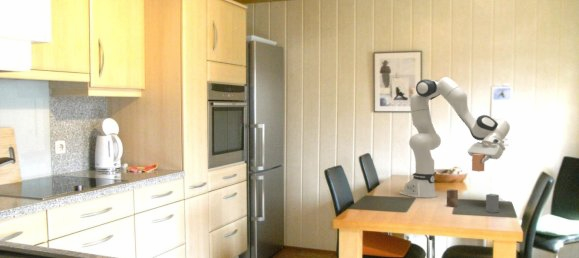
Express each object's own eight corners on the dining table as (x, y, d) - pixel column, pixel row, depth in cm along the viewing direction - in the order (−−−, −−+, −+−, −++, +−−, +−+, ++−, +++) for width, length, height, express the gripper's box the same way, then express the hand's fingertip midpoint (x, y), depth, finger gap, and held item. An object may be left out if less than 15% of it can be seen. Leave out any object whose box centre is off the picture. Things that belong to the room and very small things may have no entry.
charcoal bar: (485, 211, 269) (486, 194, 268) (490, 210, 272) (490, 193, 271) (493, 212, 265) (494, 195, 265) (498, 211, 268) (498, 194, 268)
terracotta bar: (471, 170, 282) (472, 154, 282) (477, 170, 284) (478, 154, 284) (478, 171, 278) (478, 155, 278) (484, 171, 280) (484, 154, 280)
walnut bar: (446, 206, 283) (446, 190, 282) (449, 204, 286) (449, 189, 286) (454, 207, 280) (454, 191, 279) (457, 205, 283) (457, 189, 283)
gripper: (473, 138, 293) (460, 156, 289) (502, 141, 274) (489, 160, 271) (478, 145, 295) (465, 163, 291) (508, 149, 277) (495, 168, 273)
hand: (477, 162), depth 281 cm, fingers closed on terracotta bar, 4 cm apart
